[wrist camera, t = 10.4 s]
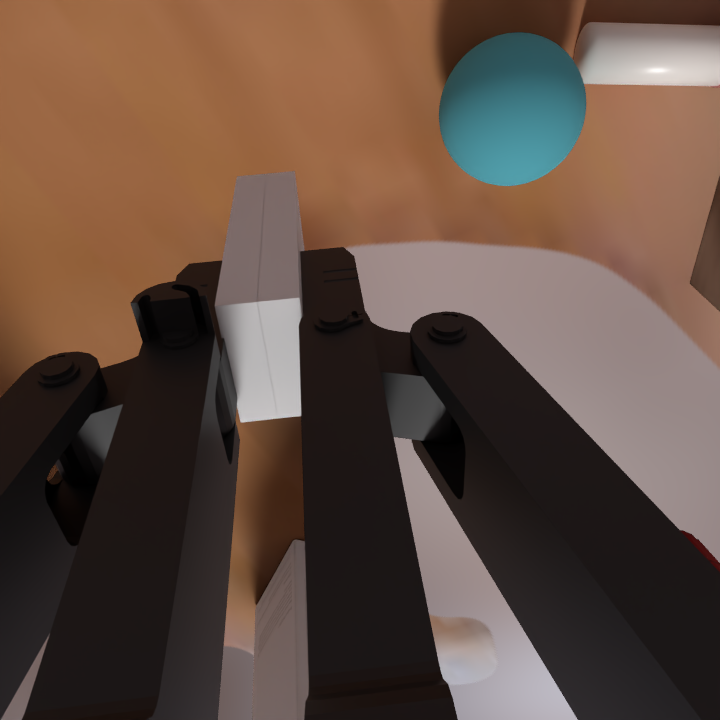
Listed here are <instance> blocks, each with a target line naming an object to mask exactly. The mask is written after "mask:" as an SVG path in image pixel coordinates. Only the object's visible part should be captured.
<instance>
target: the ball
mask: <svg viewBox="0 0 720 720" xmlns="http://www.w3.org/2000/svg"><path fill="white" fill-rule="evenodd" d="M585 111H586V93H585V87H584V83H583V79H582V77H581V74H580V71H579V69H578V68H577V66H576V64H575V63H574V61H573V59H572V58H571V57H570V56H569V55H568V53H567V52H566V51H564V50H563V49H562V48H561V47H560V46H559V45H557V44H556V43H554V42H553V41H551V40H549V39H547V38H545V37H542V36H539V35H535V34H531V33H523V32H516V33H506V34H502V35H497V36H495V37H492V38H490V39H487V40H485V41H483V42H482V43H480V44H478V45H477V46H475V47H474V48H473V49H471V50H470V51H469V52H468V53H467V54H466V55H465V56H464V57H463V58H462V59H461V60H460V61H459V62H458V63H457V65H456V66H455V67H454V69H453V71H452V72H451V74H450V75H449V77H448V79H447V81H446V84H445V86H444V89H443V92H442V96H441V101H440V108H439V123H440V131H441V135H442V138H443V141H444V144H445V146H446V148H447V150H448V152H449V154H450V156H451V157H452V158H453V160H454V161H455V162H456V163H457V164H458V165H459V166H460V168H461V169H462V170H464V171H465V172H466V173H468V174H469V175H471V176H472V177H474V178H476V179H478V180H480V181H483V182H485V183H489V184H493V185H500V186H513V185H519V184H524V183H528V182H531V181H534V180H536V179H538V178H540V177H542V176H544V175H546V174H547V173H549V172H550V171H551V170H553V169H554V168H555V167H557V166H558V165H559V164H560V163H561V162H562V161H563V160H564V159H565V157H566V156H567V155H568V154H569V152H570V151H571V150H572V148H573V146H574V145H575V143H576V141H577V139H578V137H579V135H580V132H581V130H582V127H583V123H584V119H585Z"/></svg>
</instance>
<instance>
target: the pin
mask: <svg viewBox="0 0 720 720" xmlns="http://www.w3.org/2000/svg"><path fill="white" fill-rule="evenodd" d="M573 61H574V63H575V64H576V66H577V68H578V69H579V71H580V74H581V77H582V79H583V83H584V84H618V85H675V86H710V87H719V88H720V26H716V25H679V24H642V23H605V22H589V23H587V24H586V25H585V26H584V27H583V29H582V30H581V32H580V34H579V37H578V40H577V43H576V47H575V52H574V60H573Z"/></svg>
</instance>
